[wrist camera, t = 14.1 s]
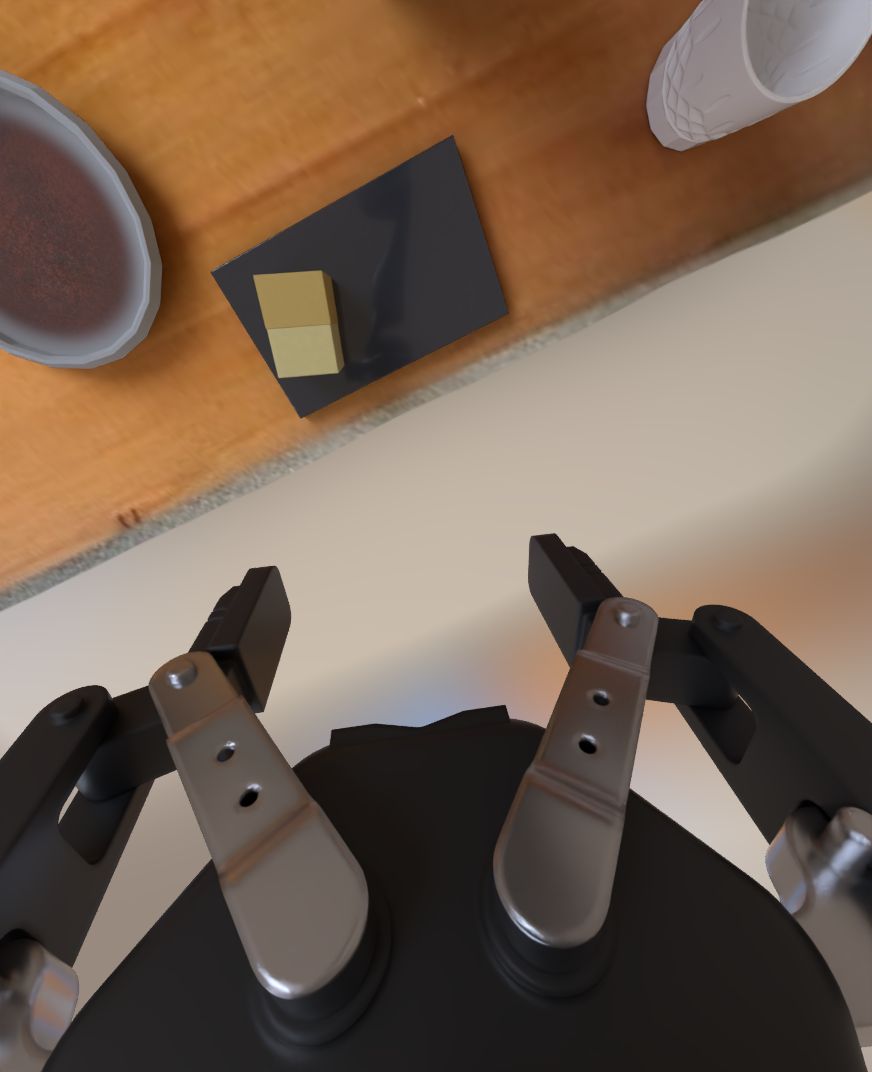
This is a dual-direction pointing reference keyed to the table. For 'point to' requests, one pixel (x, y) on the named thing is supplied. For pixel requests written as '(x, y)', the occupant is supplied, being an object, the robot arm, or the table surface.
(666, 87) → the white cup
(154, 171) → the table surface
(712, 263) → the table surface
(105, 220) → the frying pan
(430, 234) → the slate board
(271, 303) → the butter
